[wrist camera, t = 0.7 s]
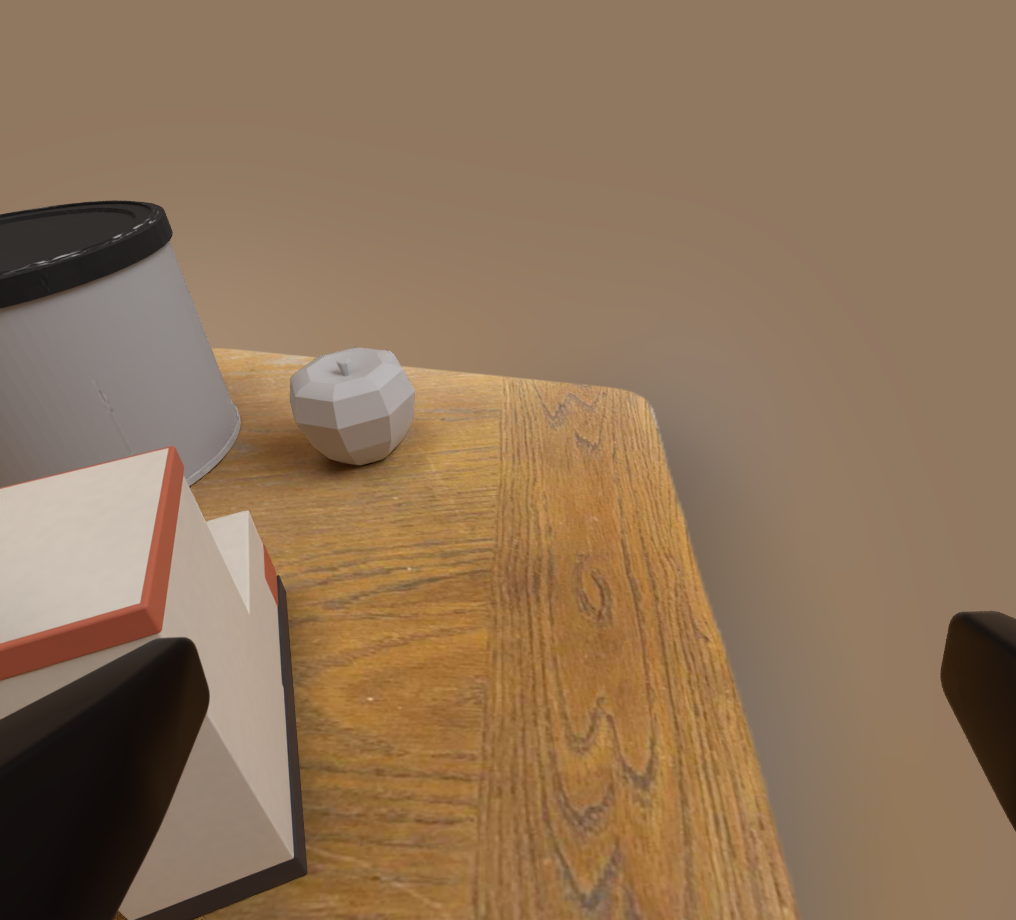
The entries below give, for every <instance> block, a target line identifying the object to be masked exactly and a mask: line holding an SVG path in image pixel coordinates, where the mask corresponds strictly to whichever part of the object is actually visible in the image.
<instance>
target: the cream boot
mask: <svg viewBox="0 0 1016 920" xmlns="http://www.w3.org/2000/svg"><path fill="white" fill-rule="evenodd" d="M168 637H187V638H189V639H191V640H192V641H193V642H194V644H195V645H196V648H197V651H198V654H199V657H200V660H201V664H202V667H203V670H204V673H205V677H206V680H207V683H208V686H209V691H210V702H209V707H208V710H207V713H206V716H205V718H204V721H203V723H202V726H201V728H200V731H199V733H198V736H197V738H196V741H195V743H194V746H193V748H192V751H191V753H190V756H189V758H188V761H187V763H186V766H185V768H184V771H183V773H182V776H181V778H180V781H179V783H178V786H177V788H176V791H175V793H174V796H173V798H172V800H171V803H170V805H169V808H168V810H167V813H166V815H165V817H164V819H163V822H162V824H161V826H160V829H159V831H158V833H157V835H156V837H155V839H154V841H153V843H152V845H151V847H150V849H149V851H148V853H147V855H146V857H145V859H144V861H143V863H142V865H141V867H140V869H139V871H138V873H137V875H136V877H135V879H134V881H133V883H132V884H131V886H130V888H129V890H128V892H127V894H126V896H125V898H124V900H123V902H122V904H121V906H120V908H119V910H118V911H119V912H120V913H121V914H122V915H123V916H124V917H125V918H126V919H127V920H192V919H194V918H197V917H199V916H202V915H204V914H207V913H209V912H212V911H215V910H217V909H220V908H222V907H225V906H227V905H230V904H232V903H235V902H237V901H240V900H243V899H245V898H248V897H250V896H253V895H255V894H258V893H260V892H263V891H265V890H268V889H270V888H273V887H276V886H278V885H281V884H283V883H286V882H288V881H291V880H293V879H296V878H298V877H301V876H303V875H306V874H307V862H306V849H305V836H304V823H303V810H302V797H301V784H300V771H299V758H298V745H297V732H296V718H295V705H294V692H293V679H292V666H291V653H290V640H289V627H288V614H287V601H286V591H285V589H284V586H283V584H282V581H281V579H280V576H279V575H278V576H277V574H276V571H275V569H274V567H273V564H272V562H271V559H270V557H269V554H268V552H267V550H266V547H265V545H263V544H262V542H261V539H260V537H259V535H258V532H257V530H256V527H255V525H254V523H253V520H252V518H251V515H250V513H249V511H248V510H246V511H243V512H239V513H235V514H232V515H228V516H224V517H221V518H217V519H213V520H209V521H205V519H204V517H203V515H202V513H201V511H200V509H199V506H198V504H197V502H196V500H195V498H194V496H193V494H192V492H191V489H190V487H189V485H188V483H187V481H186V479H185V477H184V465H183V463H182V461H181V458H180V456H179V454H178V452H177V450H176V448H175V447H174V446H169V447H165V448H161V449H157V450H153V451H149V452H145V453H141V454H137V455H132V456H128V457H124V458H120V459H116V460H112V461H108V462H104V463H100V464H95V465H91V466H87V467H83V468H79V469H75V470H71V471H67V472H63V473H58V474H54V475H50V476H46V477H42V478H38V479H34V480H30V481H26V482H21V483H17V484H13V485H9V486H5V487H1V488H0V719H2V718H4V717H6V716H8V715H10V714H12V713H14V712H16V711H18V710H19V709H21V708H23V707H25V706H27V705H29V704H31V703H33V702H35V701H37V700H39V699H40V698H42V697H44V696H46V695H48V694H50V693H52V692H54V691H56V690H58V689H60V688H62V687H63V686H65V685H67V684H69V683H71V682H73V681H75V680H77V679H79V678H81V677H83V676H84V675H86V674H88V673H90V672H92V671H94V670H96V669H98V668H100V667H102V666H104V665H105V664H107V663H109V662H111V661H113V660H115V659H117V658H119V657H121V656H123V655H125V654H127V653H128V652H130V651H132V650H134V649H136V648H138V647H140V646H142V645H144V644H146V643H148V642H149V641H151V640H154V639H157V638H168Z"/></svg>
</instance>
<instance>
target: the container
mask: <svg viewBox="0 0 1016 920" xmlns="http://www.w3.org/2000/svg"><path fill="white" fill-rule="evenodd" d="M171 237H172V229H171V226H170V224H169V221H168V219H167V216H166V213H165V211H164V209H163V208H162V207H160V206H158V205H155V204H151V203H145V202H135V201H97V202H84V203H74V204H65V205H57V206H50V207H43V208H36V209H30V210H24V211H18V212H12V213H6V214H1V215H0V488H1V487H5V486H9V485H13V484H17V483H21V482H26V481H30V480H34V479H38V478H42V477H46V476H50V475H54V474H58V473H63V472H67V471H71V470H75V469H79V468H83V467H87V466H91V465H95V464H100V463H104V462H108V461H112V460H116V459H120V458H124V457H128V456H132V455H137V454H141V453H145V452H149V451H153V450H157V449H161V448H165V447H169V446H174V447H175V448H176V450H177V452H178V454H179V456H180V458H181V461H182V463H183V465H184V477H185V479H186V481H187V483H188V485H189V486H190V485H192V484H193V483H195V482H196V481H198V480H199V479H200V478H202V477H203V476H204V475H205V474H207V473H208V472H209V471H210V470H211V469H212V468H213V467H215V466H216V465H217V464H218V463H219V462H220V461H221V460H222V459H223V457H224V456H225V455H226V454H227V453H228V452H229V450H230V449H231V447H232V446H233V445H234V443H235V441H236V439H237V437H238V434H239V431H240V426H241V420H240V415H239V412H238V410H237V407H236V406H235V404H234V403H233V402H232V401H231V398H230V396H229V393H228V391H227V388H226V385H225V383H224V380H223V378H222V375H221V372H220V370H219V367H218V365H217V362H216V360H215V357H214V354H213V352H212V349H211V347H210V344H209V342H208V339H207V336H206V334H205V331H204V329H203V326H202V324H201V321H200V318H199V316H198V313H197V310H196V308H195V306H194V303H193V300H192V298H191V295H190V292H189V290H188V287H187V285H186V282H185V279H184V277H183V274H182V272H181V269H180V267H179V264H178V261H177V259H176V256H175V254H174V251H173V248H172V246H171V243H170V239H171Z"/></svg>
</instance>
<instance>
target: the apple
mask: <svg viewBox="0 0 1016 920" xmlns="http://www.w3.org/2000/svg"><path fill="white" fill-rule="evenodd" d="M414 402H415V389H414V388H413V386H412V384H411V382H410V381H409V379H408V377H407V375H406V374H405V372H404V370H403V368H402V367H401V365H400V364H399V362H398V361H397V359H396V357H395V356H394V354H393V353H392V352H389V351H386V350H377V349H367V348H356V347H355V348H351V349H347V350H343V351H339V352H335V353H331V354H326V355H322V356H319V357H317V358H316V359H314V360H313V361H312V362H310V363H309V364H307V365H306V366H305V367H303V368H302V369H300V370H299V371H298V372H296V373H295V374H294V375H293V376H292V377H291V378H290V403H291V407H292V411H293V415H294V418H295V422H296V424H297V425H298V427H299V428H300V430H301V431H302V432H303V434H304V435H305V437H306V438H307V439H308V441H309V442H310V444H311V445H312V446H313V447H314V448H315V449H317V450H318V451H319V452H321V453H322V454H323V455H325V456H326V457H327V458H329V459H331V460H334V461H338V462H341V463H347V464H353V465H359V466H361V465H364V464H368V463H372V462H375V461H379V460H382V459H385V458H386V457H387V456H388V455H389V454H390V453H391V452H392V451H393V450H394V449H395V448H396V446H397V445H398V444H399V443H400V442H401V441H402V440H403V439H404V438H405V437H406V434H407V432H408V430H409V427H410V425H411V423H412V421H413V415H414Z"/></svg>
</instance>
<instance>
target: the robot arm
mask: <svg viewBox="0 0 1016 920" xmlns="http://www.w3.org/2000/svg"><path fill="white" fill-rule="evenodd" d="M941 683H942V688H943V691H944V693H945V696H946V698H947V700H948V702H949V704H950V706H951V708H952V710H953V712H954V714H955V716H956V718H957V719H958V722H959V723H960V725H961V727H962V729H963V731H964V733H965V735H966V737H967V739H968V741H969V743H970V745H971V747H972V749H973V751H974V753H975V755H976V757H977V758H978V761H979V763H980V765H981V767H982V769H983V771H984V773H985V775H986V776H987V778H988V781H989V783H990V785H991V786H992V789H993V790H994V792H995V794H996V796H997V798H998V800H999V802H1000V804H1001V806H1002V808H1003V810H1004V812H1005V813H1006V815H1007V817H1008V819H1009V821H1010V823H1011V824H1012V826H1013V828H1014V829H1015V831H1016V619H1015V618H1012V617H1010V616H1007V615H1005V614H1003V613H1000V612H995V611H979V612H978V611H976V612H959V613H958V614H956V615H955V616H953V618H952V619H951V621H950V624H949V628H948V634H947V639H946V645H945V650H944V655H943V661H942V666H941ZM209 702H210V691H209V686H208V683H207V680H206V677H205V673H204V670H203V667H202V664H201V660H200V657H199V654H198V651H197V648H196V645H195V644H194V642H193V641H192V640H191V639H189V638H187V637H168V638H157V639H154V640H151V641H149V642H148V643H146V644H144V645H142V646H140V647H138V648H136V649H134V650H132V651H130V652H128V653H127V654H125V655H123V656H121V657H119V658H117V659H115V660H113V661H111V662H109V663H107V664H105V665H104V666H102V667H100V668H98V669H96V670H94V671H92V672H90V673H88V674H86V675H84V676H83V677H81V678H79V679H77V680H75V681H73V682H71V683H69V684H67V685H65V686H63V687H62V688H60V689H58V690H56V691H54V692H52V693H50V694H48V695H46V696H44V697H42V698H40V699H39V700H37V701H35V702H33V703H31V704H29V705H27V706H25V707H23V708H21V709H19V710H18V711H16V712H14V713H12V714H10V715H8V716H6V717H4V718H2V719H0V920H114V918H115V916H116V914H117V912H118V910H119V908H120V906H121V904H122V902H123V900H124V898H125V896H126V894H127V892H128V890H129V888H130V886H131V884H132V883H133V881H134V879H135V877H136V875H137V873H138V871H139V869H140V867H141V865H142V863H143V861H144V859H145V857H146V855H147V853H148V851H149V849H150V847H151V845H152V843H153V841H154V839H155V837H156V835H157V833H158V831H159V829H160V826H161V824H162V822H163V819H164V817H165V815H166V813H167V810H168V808H169V805H170V803H171V800H172V798H173V796H174V793H175V791H176V788H177V786H178V783H179V781H180V778H181V776H182V773H183V771H184V768H185V766H186V763H187V761H188V758H189V756H190V753H191V751H192V748H193V746H194V743H195V741H196V738H197V736H198V733H199V731H200V728H201V726H202V723H203V721H204V718H205V716H206V713H207V710H208V707H209Z"/></svg>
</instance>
